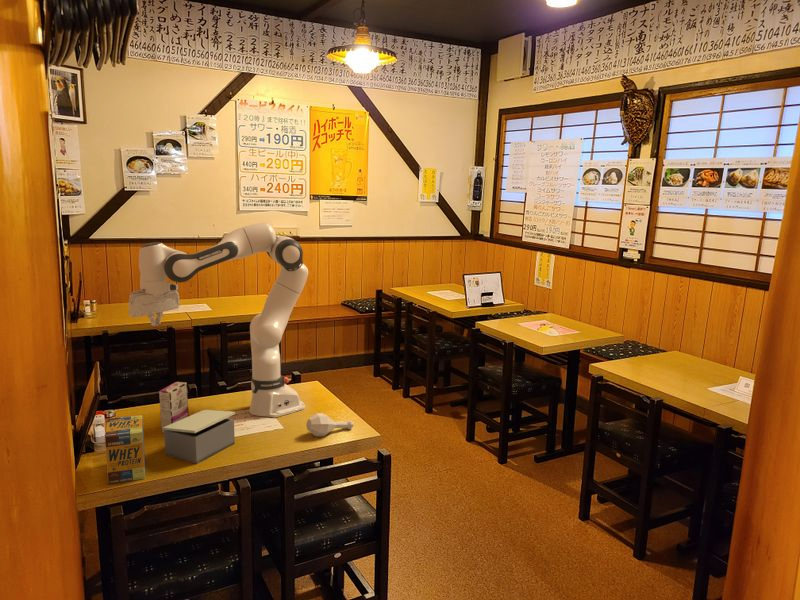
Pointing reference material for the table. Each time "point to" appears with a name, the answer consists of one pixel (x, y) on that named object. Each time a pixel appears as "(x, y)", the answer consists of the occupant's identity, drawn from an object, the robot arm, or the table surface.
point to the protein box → (125, 449)
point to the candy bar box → (173, 403)
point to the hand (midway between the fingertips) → (155, 324)
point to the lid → (199, 421)
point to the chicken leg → (325, 424)
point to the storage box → (200, 442)
